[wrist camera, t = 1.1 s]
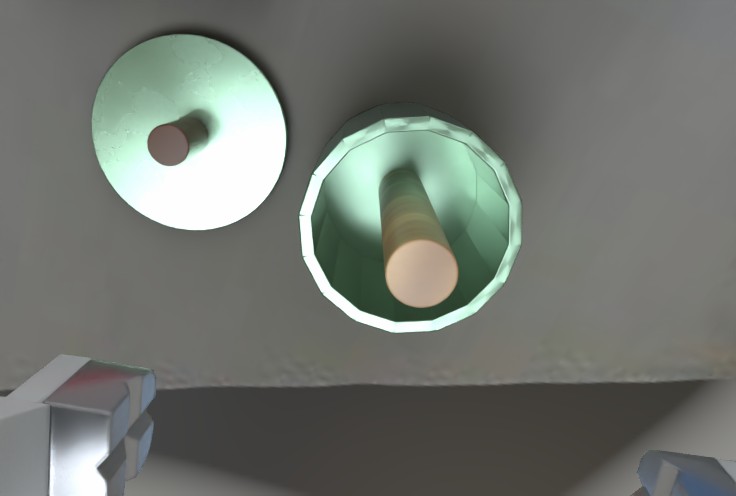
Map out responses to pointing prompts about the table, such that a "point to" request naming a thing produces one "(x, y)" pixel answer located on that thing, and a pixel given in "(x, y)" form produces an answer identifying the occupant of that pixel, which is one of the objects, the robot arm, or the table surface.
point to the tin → (447, 195)
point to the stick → (414, 243)
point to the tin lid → (189, 131)
